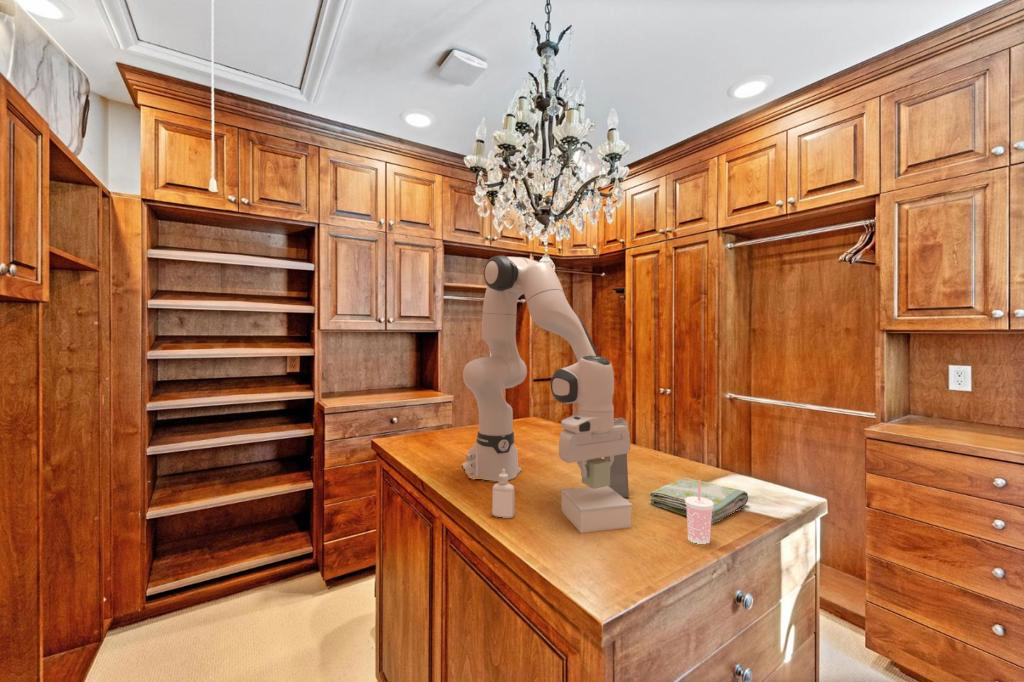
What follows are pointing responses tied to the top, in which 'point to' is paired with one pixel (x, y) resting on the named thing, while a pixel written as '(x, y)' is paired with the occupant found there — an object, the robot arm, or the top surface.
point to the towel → (721, 496)
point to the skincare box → (619, 475)
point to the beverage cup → (699, 517)
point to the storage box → (596, 509)
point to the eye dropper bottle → (503, 497)
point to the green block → (597, 473)
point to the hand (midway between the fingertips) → (595, 474)
